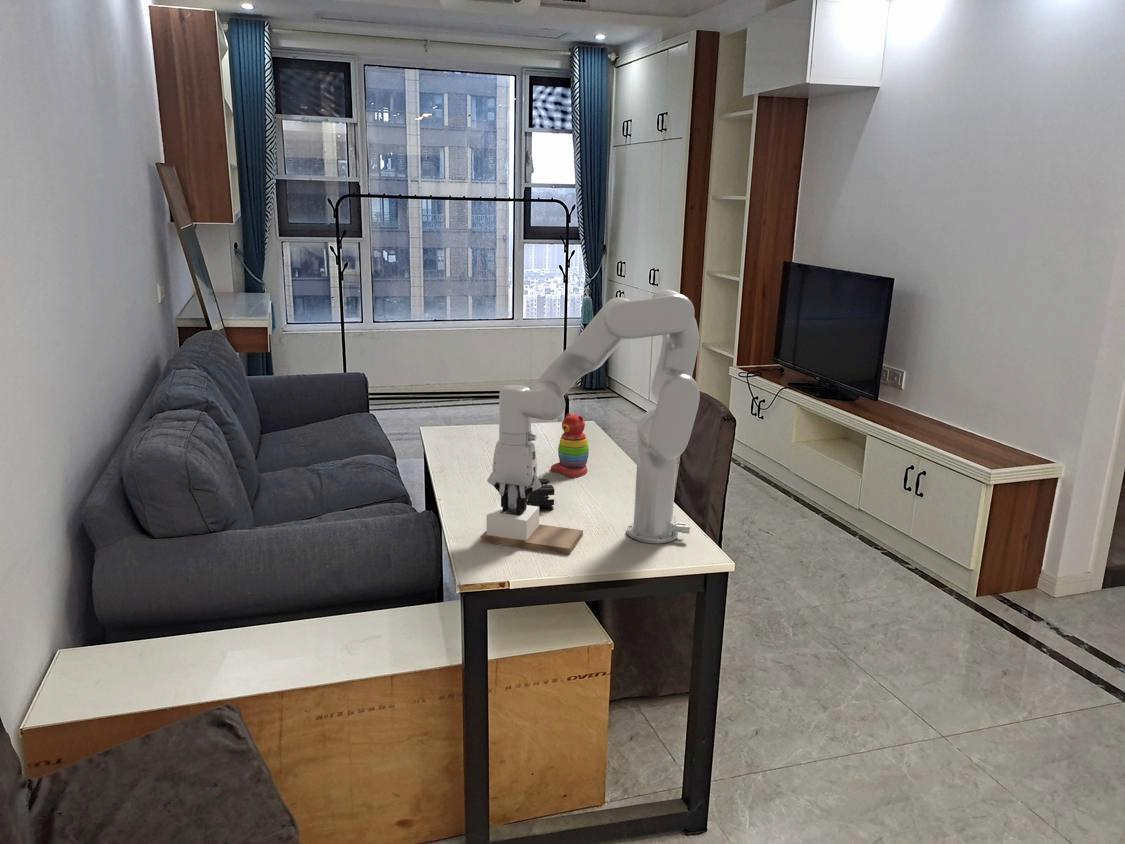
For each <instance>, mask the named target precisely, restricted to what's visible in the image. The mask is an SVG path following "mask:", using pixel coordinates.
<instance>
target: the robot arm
mask: <svg viewBox="0 0 1125 844" xmlns="http://www.w3.org/2000/svg"><path fill="white" fill-rule="evenodd" d="M695 314H696V313H695V307H694V304H693V302H692V301H691V299H689V297H687V296H686V295H684V294H681V293H679V292H678V291H675V290H672V289H660V290H658V291H656V292H655V293H653V295H652V296H651V297H650V298H646V299H645V298H644V299H636V300H630V299H629V298H625V297H621V296H619V297H618V296H617V297H613V298H611V299H609V300H608V301H607V302H605V303H604V305H603V306H602V307H601V309H599V311H598V312H597V313H596V314H595V316H593V318H592V319H591V320H590V321H589V323H588V324H587V325H586V326H585V328H584V329H583V330H582V332H580V334H579V335H578V336H577V337H576V338H575V340H574V341H573V342H572V343H571V344H570V345H569V346H568V347H567V348H566V349H564V351H563V352H562V353H561V354H560V355H559V356H558V357H556V358H555V359H554V361H552V363H550V365H549V366H548V367H547V368H546V369H545V370H544V372H543V373H542V375H540V377H539V378H538V379H537V381H536V382H535V383H534V384H533V386H532V388H530V387H528V386H525V385H523V384H522V385H521V384H509V385H508V384H507V385H504V386H502V387H501V388H500V391H499V396H498V397H499V403H498V404H499V405H498V407H499V411H498V416H499V417H498V440H497V441H496V443H495V448H494V452H493V459H492V469H491V470H492V471H491V473H490V475H489V476H488V478H487V480H486V482H487V483H488V484H490V485H491V486H492V487H494V488H495V490H496V491H497V492H498V494H499V496H500V502H501V507H503V509H502V511H503V512H505V511H507V484H511V485H518V486H519V487H520V497H519V498H518V513H519V514H521V513H522V512H523V511H524V510H525V509H526V507H527V505H528V504H527V503H528V501H527V495H528V494H530V493H531V492H532V491H535V490H537V489H539V488H540V487H541V483H540V481H539V479H540V478H539V477H538V464H537V462H538V461H537V453H536V447H535V443H534V442H533V441H535V442H536V441H537V435H536V434H534V433H533V431H532V419H536V420H542V421H553V420H556V419H559V418H561V416H562V415H563V414H564V412H565V409H566V400H565V397H564V396H565V395H566V394H567V392H568V391H569V390H570V389H571V388H572V387H573V386H574V384H576V383H577V381H579V380H580V379H581V378H582V377H583V376H585V375H586V374H589V373H592V372H594V371H597V370H598V369H599V368H600V367H602V366H603V364H604V363H605V362H606V361H607V359H609V357H610V356H611V355H612V354H613V353H614V351H615V350H616V349H617V348H618V346H619V345H620V344H621V343H622V342H623V341H624V340H633V339H642V338H651V337H656V336H662V337H661V338H662V341H661V347H660V353H659V358H658V361H657V363H656V368H655V372H654V375H653V378H652V382H651V386H650V387H651V390H650V391H651V394H652V396H653V398H654V400H655V402H656V407H655V408H652V409H650V410H647V411H646V412H644V413H643V414H642V416H641V417H640V418H639V420H638V423H637V426H636V427H637V428H636V448H637V449H636V455H637V456H636V475H635V477H636V478H635V493H634V509H633V510H634V511H633V513H634V514H633V522H632V523H630V524H629V525H627V526H626V535H628V536H629V537H630V538H632V539H634V540H636V541H639V542H642V543H647V544H666V543H671V542H672V541H674V540H676V539H677V538H678V535H679V533H681V534H687V535H690V533H691V525H687V522H678V521H677V520H676V515H674V503H675V501H674V500H675V487H676V486H675V485H676V476H677V458H678V457H680V456H681V455H682V454H683V452H685V450H686V448H687V446H688V443H689V441H690V438H691V434H692V431H693V428H694V424H695V422H696V421H695V420H696V416H697V413H698V409H699V406H700V405H699V404H700V401H701V397H700V395H701V392H700V388H699V385H698V383H697V381H696V380H695V379H694V378H693V373H694V370H695V365H696V359H697V355H698V350H699V345H700V343H699V342H700V333H699V327H698V323H697V320H696V317H695ZM532 482H533V485H532V486H530V485H531V484H532ZM528 486H530V487H528Z"/></svg>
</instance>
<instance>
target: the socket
mask: <svg viewBox="0 0 1125 844" xmlns="http://www.w3.org/2000/svg"><path fill="white" fill-rule="evenodd" d="M502 509H503V507H501V501H500V502H499V503H498V504H497V505H496V506H495V507H493V509H491V511H490V512H488V513H487V514H486V530H485V531H486V535H490V536H497V537H504V538H511V539H518V540H525V541H526V540H527V539H528V538H529V537H530V536H531V534H532V533H533V532H534V531H535V530H536V529H537V527H538V526H539V524H540V511H539V507H537V506H530V504H529V505H528V504H527V507H526V509H525V510H524V511H523V512H522V513H521V516H517V515H509V514H507V511H505V512H503V511H502Z"/></svg>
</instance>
